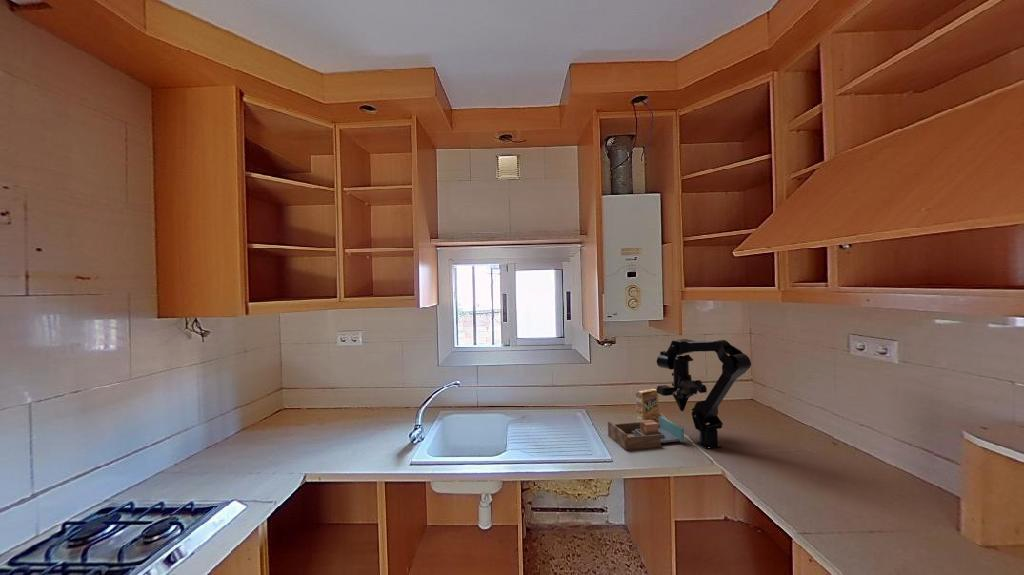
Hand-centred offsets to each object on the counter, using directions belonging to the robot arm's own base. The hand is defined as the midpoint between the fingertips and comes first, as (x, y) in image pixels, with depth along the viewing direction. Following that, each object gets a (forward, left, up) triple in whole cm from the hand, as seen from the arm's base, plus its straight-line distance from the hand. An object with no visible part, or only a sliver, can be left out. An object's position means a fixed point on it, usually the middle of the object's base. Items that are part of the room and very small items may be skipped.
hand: (681, 410), depth 182 cm
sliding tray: (-1, +12, -9) cm, 15 cm away
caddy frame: (-1, +21, -10) cm, 23 cm away
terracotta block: (-1, +15, -8) cm, 17 cm away
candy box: (+14, +8, -10) cm, 19 cm away
